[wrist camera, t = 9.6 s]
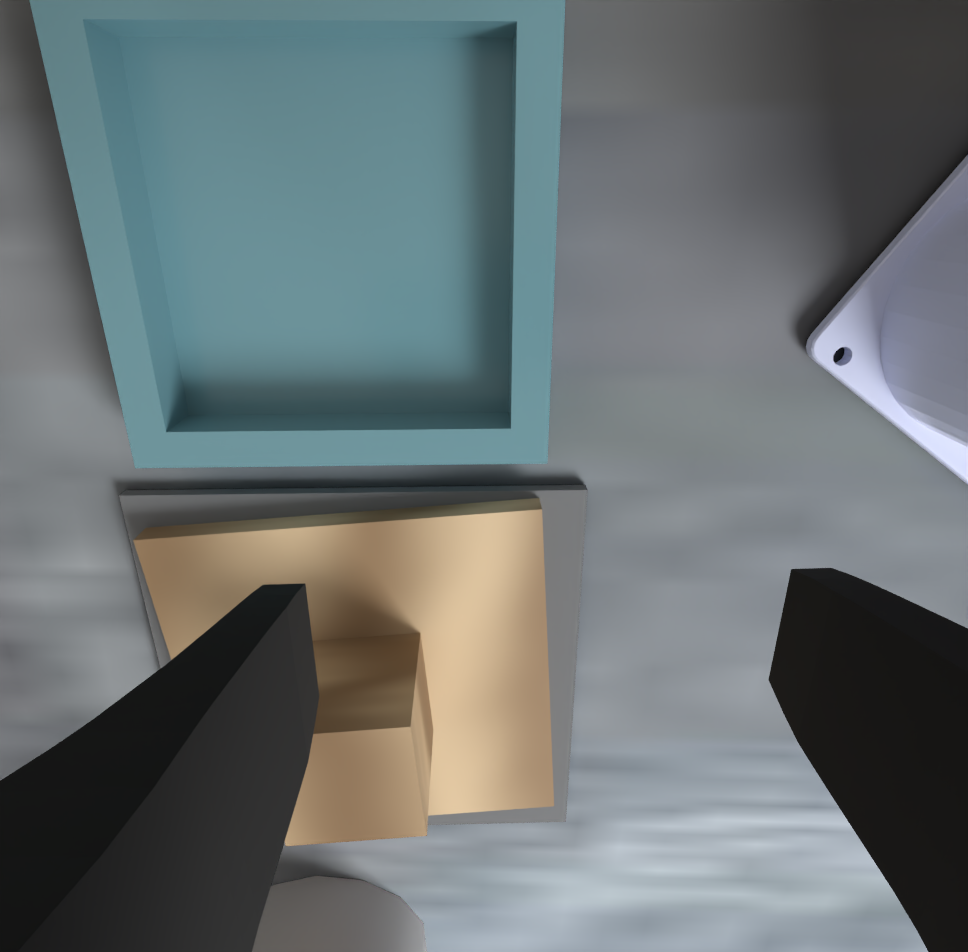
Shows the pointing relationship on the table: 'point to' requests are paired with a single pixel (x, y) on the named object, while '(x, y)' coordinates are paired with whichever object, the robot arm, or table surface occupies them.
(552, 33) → the teal dish
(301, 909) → the cup
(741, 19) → the table surface
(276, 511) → the rubber mat
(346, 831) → the oak cover
